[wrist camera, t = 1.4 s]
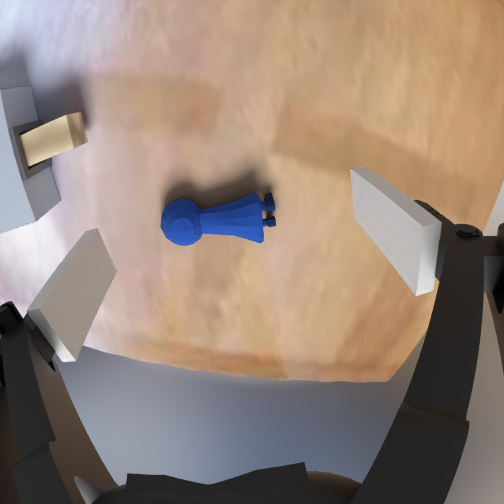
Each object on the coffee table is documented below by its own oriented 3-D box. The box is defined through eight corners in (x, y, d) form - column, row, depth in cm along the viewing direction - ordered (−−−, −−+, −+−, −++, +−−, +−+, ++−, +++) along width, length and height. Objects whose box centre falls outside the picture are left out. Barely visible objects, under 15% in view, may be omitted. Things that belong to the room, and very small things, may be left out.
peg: (-3, 150, 32) (-20, 157, 28) (80, 111, 31) (65, 115, 28) (4, 175, 34) (-12, 185, 30) (88, 141, 34) (73, 148, 30)
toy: (269, 182, 41) (158, 196, 40) (278, 197, 36) (149, 214, 35) (272, 228, 44) (167, 241, 43) (280, 249, 39) (161, 264, 38)
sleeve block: (-20, 117, 30) (-51, 126, 23) (34, 84, 30) (3, 87, 23) (8, 218, 39) (-17, 239, 32) (64, 199, 38) (39, 220, 32)
